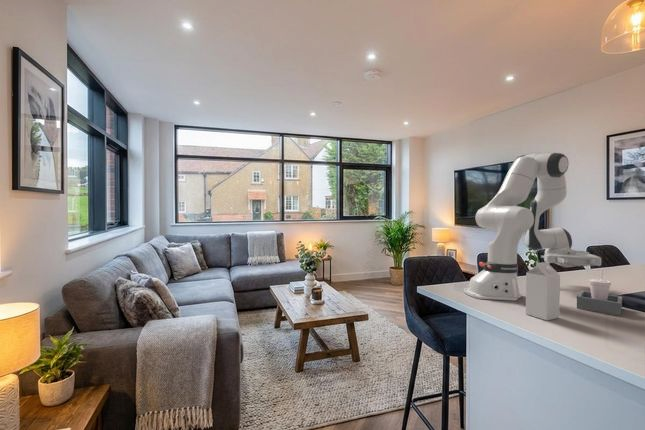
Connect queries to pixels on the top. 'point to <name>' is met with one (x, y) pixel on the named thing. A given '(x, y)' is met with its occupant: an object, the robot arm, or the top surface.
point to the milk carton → (543, 292)
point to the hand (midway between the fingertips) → (579, 262)
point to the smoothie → (599, 288)
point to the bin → (600, 303)
